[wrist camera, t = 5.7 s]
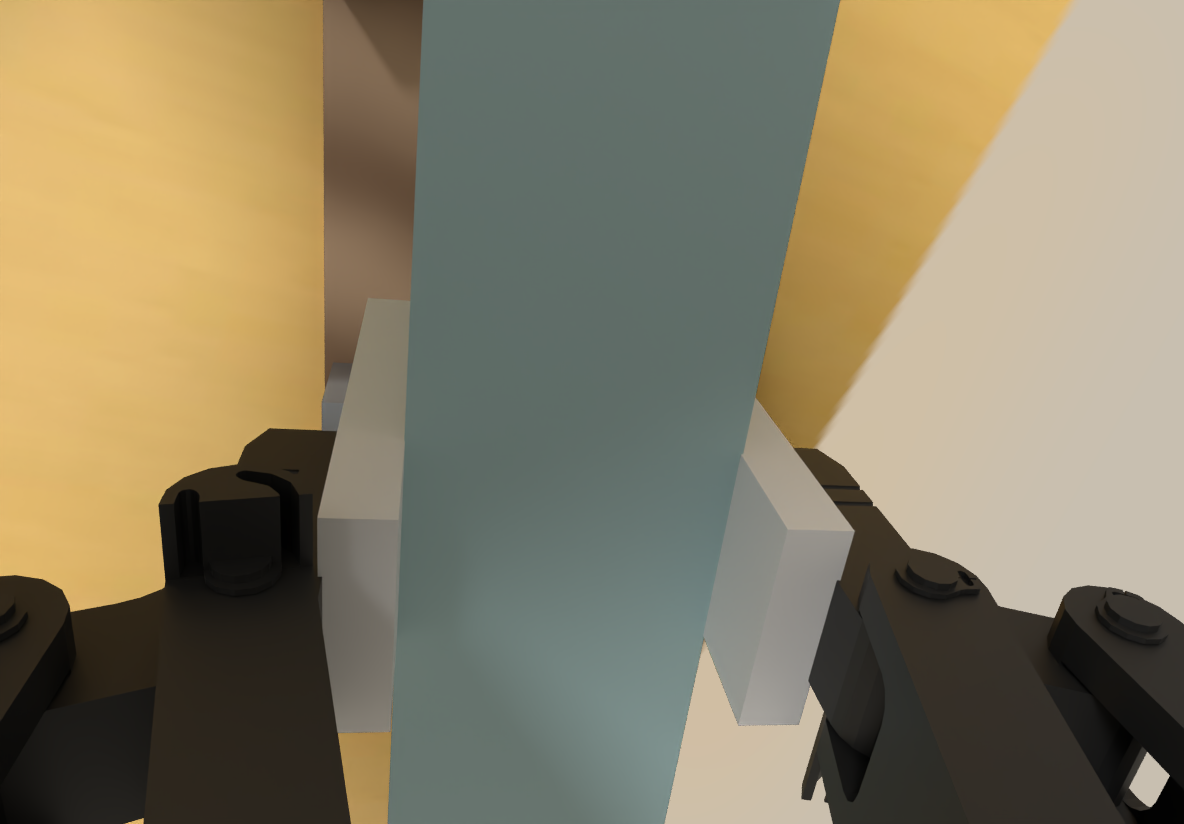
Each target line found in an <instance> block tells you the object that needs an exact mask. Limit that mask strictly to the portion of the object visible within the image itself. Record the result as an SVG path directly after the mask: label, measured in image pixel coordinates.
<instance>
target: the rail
mask: <svg viewBox="0 0 1184 824" xmlns="http://www.w3.org/2000/svg"><path fill="white" fill-rule="evenodd" d="M839 3H840V0H423V19H422V42H421V65H420V88H419V111H418V135H417V158H416V181H415V204H414V227H413V250H412V273H411V296H410V319H409V343H408V366H407V389H406V412H405V435H404V441H405V450H404V475H403V499H402V524H401V549H400V573H399V598H398V623H397V642H396V657H395V672H394V689H393V712H392V736H391V759H390V782H389V805H388V824H664V822H665V818H666V813H667V809H668V804H669V799H670V795H671V790H672V785H673V780H674V776H675V771H676V766H677V762H678V757H679V752H680V748H681V742H682V738H683V734H684V729H685V724H686V720H687V715H688V710H689V706H690V700H691V696H692V691H693V687H694V682H695V677H696V672H697V668H698V663H699V659H700V654H701V649H702V645H703V640H704V637H703V633H704V628H705V624H706V619H707V614H708V609H709V604H710V600H711V595H712V590H713V585H714V581H715V576H716V571H717V566H718V562H719V557H720V552H721V547H722V542H723V538H724V533H725V528H726V523H727V519H728V514H729V509H730V504H731V500H732V495H733V490H734V485H735V480H736V476H737V471H738V466H739V461H740V457H741V454H743V453H744V448H745V443H746V438H747V434H748V429H749V424H750V420H751V415H752V410H753V406H754V401H755V396H756V392H757V387H758V382H759V378H760V373H761V368H762V364H763V359H764V354H765V349H766V345H767V340H768V335H769V331H770V326H771V321H772V317H773V312H774V307H775V303H776V298H777V293H778V289H779V284H780V279H781V275H782V270H783V265H784V260H785V256H786V251H787V246H788V242H789V237H790V232H791V228H792V223H793V218H794V214H795V209H796V204H797V200H798V195H799V190H800V185H801V181H802V176H803V171H804V167H805V162H806V157H807V153H808V148H809V143H810V139H811V134H812V129H813V125H814V120H815V115H816V111H817V106H818V101H819V96H820V92H821V87H822V82H823V78H824V73H825V68H826V64H827V59H828V54H829V50H830V45H831V40H832V36H833V31H834V26H835V22H836V17H837V12H838V7H839Z"/></svg>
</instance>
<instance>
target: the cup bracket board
mask: <svg viewBox="0 0 1184 824" xmlns="http://www.w3.org/2000/svg"><path fill="white" fill-rule="evenodd" d="M422 19H423V0H323V87H324V298H325V392H324V396H323V400H322V431H337V430H338V426H339V421H340V417H341V413H342V408H343V404H344V400H345V395H346V391H347V387H348V382H349V378H350V374H351V369H352V365H353V361H354V356H355V352H356V348H357V343H358V339H359V335H360V330H361V326H362V322H363V317H364V313H365V309H366V304H367V300H368V298H376V299H390V300H405V301H410V296H411V273H412V250H413V227H414V204H415V181H416V158H417V135H418V111H419V88H420V65H421V42H422Z"/></svg>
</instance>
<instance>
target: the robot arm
mask: <svg viewBox="0 0 1184 824" xmlns="http://www.w3.org/2000/svg"><path fill="white" fill-rule="evenodd" d="M409 319H410V301H405V300H390V299H376V298H368V300H367V304H366V309H365V313H364V317H363V322H362V326H361V330H360V335H359V339H358V343H357V348H356V352H355V356H354V361H353V365H352V369H351V374H350V378H349V382H348V387H347V391H346V395H345V400H344V404H343V408H342V413H341V417H340V421H339V426H338V430H337V431H319V430H295V429H271V428H269V429H268V430H267V431H265V432H264V433H262V434H261V435H260V436H258V437H257V438H256V439H254V440H253V441H252V442H250V443H249V444H247V445H246V446H245V448H244V450H243V452H242V455H241V457H240V459H239V462H238V464H237V465H230V466H224V467H217V468H210V469H207V470H204V471H201V472H198V473H195V474H192V475H190V476H187V477H184V478H183V479H181V480H180V481H178V482H177V483H175V484H174V485H173V486H171V487H170V488H168V489H167V490H166V491H165V493H164V495H163V497H162V499H161V501H160V503H159V515H160V526H161V537H162V548H163V559H164V570H165V588H163V589H161V590H159V591H156V592H153V593H151V594H148V595H146V596H143V597H141V598H137V599H133V600H129V601H125V602H121V603H117V604H112V605H107V606H101V607H96V608H90V609H85V610H79V611H74V612H70V606H69V603H68V601H67V599H66V597H65V595H64V593H63V591H62V590H61V589H60V588H58V587H56V586H54V585H52V584H51V583H49V582H47V581H45V580H43V579H37V578H30V577H24V576H17V575H13V576H0V824H125V823H128V822H131V821H135V820H138V819H142V818H144V824H351V821H350V815H349V808H348V801H347V794H346V787H345V780H344V773H343V767H342V760H341V753H340V746H339V739H338V733H363V732H390V730H391V715H392V701H393V686H394V672H395V657H396V642H397V623H398V598H399V573H400V549H401V524H402V499H403V475H404V450H405V441H404V435H405V412H406V389H407V366H408V343H409ZM703 637H704V639H705V642H706V644H707V647H708V649H709V652H710V655H711V657H712V659H713V662H714V665H715V667H716V670H717V672H718V675H719V677H720V680H721V683H722V685H723V688H724V690H725V693H726V695H727V698H728V700H729V703H730V705H731V708H732V711H733V713H734V715H735V718H736V721H737V723H738V725H739V726H741V725H743V726H744V725H798V724H799V722H800V719H801V715H802V712H803V709H804V705H805V701H806V698H807V695H808V691H809V688H810V685H811V687H812V689H813V691H814V693H815V695H816V697H817V699H818V701H819V702H820V704H821V706H822V708H823V710H824V714H823V717H822V720H821V723H820V727H819V730H818V733H817V737H816V740H815V744H814V747H813V750H812V753H811V757H810V760H809V763H808V767H807V770H806V774H805V776H804V780H803V783H802V799H804V800H811V799H812V795H813V792H814V789H815V786H816V782H817V781H818V780H819V779H820V778H821V777H822V778H823V783H824V787H825V791H826V796H825V799H824V801H825V802H827V803H828V804H829V808H830V813H831V817H832V821H833V824H1184V624H1183V623H1182V622H1180V621H1179V620H1177V619H1176V618H1175V617H1173V616H1172V615H1170V614H1169V613H1167V612H1166V611H1164V610H1163V609H1161V608H1160V607H1158V606H1156V605H1154V604H1152V603H1149V602H1148V601H1145V600H1144V599H1143V598H1142V597H1140V596H1138V595H1136V594H1133V593H1130V592H1127V591H1125V592H1123V590H1120V589H1116V588H1111V587H1109V588H1106V587H1097V586H1083V587H1077V588H1072V589H1071V590H1070V591H1069V592H1068V593H1067V594H1066V595H1065V596H1064V597H1063V599H1062V602H1061V604H1060V607H1059V609H1058V612H1057V614H1056V616H1055V618H1051V617H1046V616H1041V615H1037V614H1032V613H1027V612H1023V611H1018V610H1013V609H1009V608H1004V607H1000V606H998V605H997V604H996V602H995V600H994V598H993V597H992V595H991V593H990V592H989V590H988V589H987V587H986V586H985V585H984V584H983V583H982V582H981V581H980V580H979V579H978V577H977V576H976V575H974V574H973V573H971V572H970V571H969V570H967V569H965V568H964V567H962V566H961V565H960V564H958V563H956V562H954V561H951V560H949V559H946V558H944V557H942V556H939V555H937V554H934V553H930V552H925V551H921V550H917V549H911V548H910V547H909V546H908V545H907V543H906V542H905V541H904V540H903V539H902V537H901V536H900V535H899V534H898V532H897V531H896V530H895V529H894V528H893V526H892V525H891V524H890V523H889V521H888V520H887V519H886V518H885V516H884V515H883V514H882V513H881V512H880V510H879V509H878V508H877V507H875V506H873V502H872V501H871V499H870V498H869V497H868V496H867V494H866V493H865V492H864V491H863V490H860V486H859V485H858V483H857V482H856V481H855V480H854V478H853V477H852V476H851V475H850V474H849V472H848V471H847V470H846V469H845V467H844V466H842V465H841V464H839V463H838V462H836V461H834V460H833V459H831V458H830V457H828V456H827V455H825V454H824V453H822V452H821V451H819V450H818V449H808V448H793V447H792V446H791V444H790V443H789V442H788V440H787V439H786V438H785V436H784V435H783V434H782V432H781V431H780V430H779V428H778V427H777V426H776V424H775V423H774V421H773V420H772V419H771V417H770V416H769V415H768V413H767V412H766V411H765V409H764V408H763V407H762V405H761V404H760V403H759V401H758V400H757V399H756V397H755V401H754V406H753V410H752V415H751V420H750V424H749V429H748V434H747V438H746V443H745V448H744V453H743V454H741V457H740V461H739V466H738V471H737V476H736V480H735V485H734V490H733V495H732V500H731V504H730V509H729V514H728V519H727V523H726V528H725V533H724V538H723V542H722V547H721V552H720V557H719V562H718V566H717V571H716V576H715V581H714V585H713V590H712V595H711V600H710V604H709V609H708V614H707V619H706V624H705V628H704V633H703ZM1147 752H1148V753H1149V754H1150V755H1151V756H1152V757H1153V758H1154V759H1155V760H1156V761H1157V762H1158V763H1159V764H1160V765H1161V767H1162V768H1163V769H1164V770H1165V771H1166V772H1167V773H1168V774H1169V775H1170V777H1169V779H1168V780H1167V782H1166V784H1165V786H1164V788H1163V790H1162V792H1161V794H1160V795H1159V797H1158V799H1157V801H1156V803H1155V804H1154V805H1153V806H1152V807H1148V806H1146V805H1145V804H1144V803H1143V802H1141V801H1140V800H1139V799H1138V798H1137V797H1136V796H1135V795H1134V794H1133V793H1132V791H1131V790H1130V789H1129V786H1130V784H1131V782H1132V780H1133V778H1134V776H1135V775H1136V773H1137V770H1138V769H1139V767H1140V765H1141V763H1142V761H1143V759H1144V757H1145V755H1146V753H1147Z"/></svg>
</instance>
